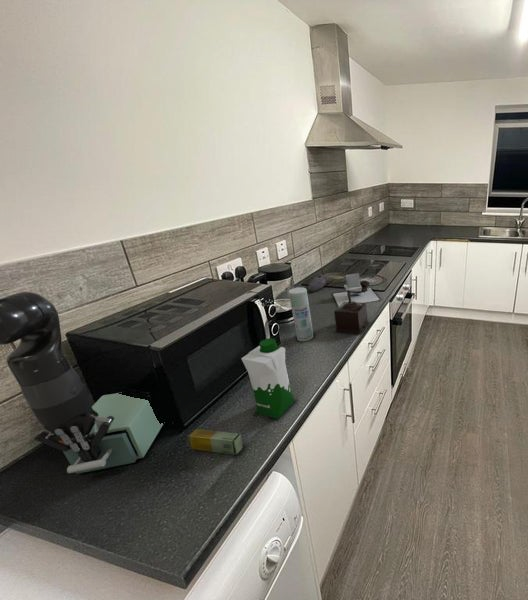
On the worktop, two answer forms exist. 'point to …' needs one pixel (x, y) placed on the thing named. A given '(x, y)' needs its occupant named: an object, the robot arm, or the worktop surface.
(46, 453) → the worktop surface
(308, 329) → the spray can
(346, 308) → the manual coffee grinder
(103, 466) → the green drawer
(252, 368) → the milk carton
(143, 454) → the green drawer housing
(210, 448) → the medication box
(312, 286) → the perforated stone tool
